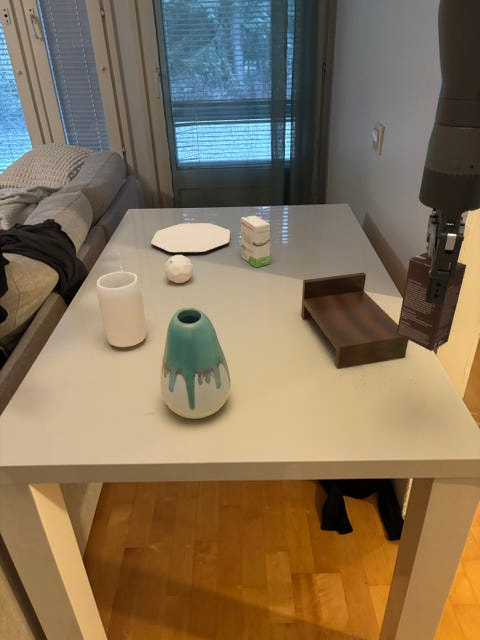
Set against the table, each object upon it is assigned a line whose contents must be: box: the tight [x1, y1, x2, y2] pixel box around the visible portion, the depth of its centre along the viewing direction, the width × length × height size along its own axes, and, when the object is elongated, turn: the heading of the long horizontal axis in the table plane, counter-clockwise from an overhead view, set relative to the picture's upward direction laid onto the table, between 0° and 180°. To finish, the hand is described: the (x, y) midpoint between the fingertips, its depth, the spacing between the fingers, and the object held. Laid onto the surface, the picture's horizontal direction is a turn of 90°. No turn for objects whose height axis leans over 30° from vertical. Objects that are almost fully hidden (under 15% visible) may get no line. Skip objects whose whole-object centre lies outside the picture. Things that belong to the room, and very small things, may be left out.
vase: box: [159, 307, 231, 420], centre depth 75 cm, size 12×12×18 cm
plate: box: [150, 222, 231, 254], centre depth 144 cm, size 24×24×2 cm
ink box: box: [240, 215, 271, 268], centre depth 127 cm, size 9×5×12 cm, turn 27°
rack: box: [300, 272, 409, 370], centre depth 95 cm, size 14×20×9 cm
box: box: [397, 251, 467, 352], centre depth 64 cm, size 6×4×12 cm
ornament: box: [164, 254, 194, 284], centre depth 118 cm, size 7×7×8 cm
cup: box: [96, 271, 147, 348], centre depth 93 cm, size 8×8×14 cm
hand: (432, 289), depth 63 cm, fingers closed on box, 6 cm apart
